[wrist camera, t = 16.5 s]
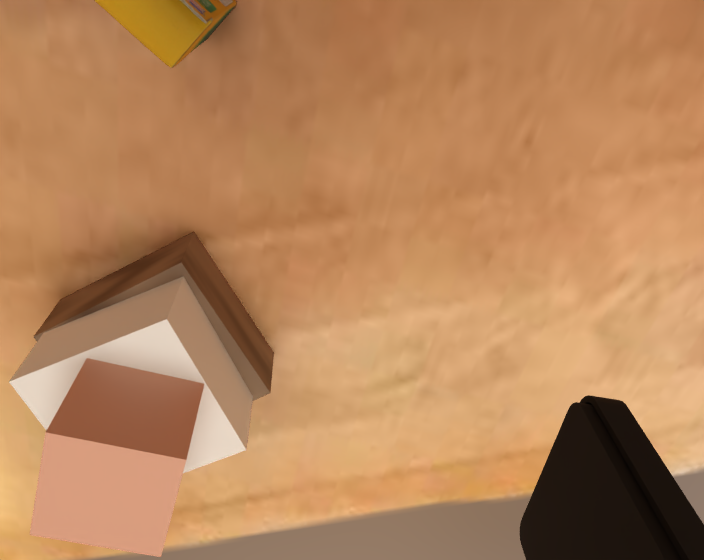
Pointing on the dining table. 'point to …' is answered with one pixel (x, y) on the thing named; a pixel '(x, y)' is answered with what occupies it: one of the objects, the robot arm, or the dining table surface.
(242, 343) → the tower bottom
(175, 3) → the crayon box
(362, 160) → the dining table surface
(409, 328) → the dining table surface
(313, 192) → the dining table surface
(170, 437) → the terracotta cube
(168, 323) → the tower top
